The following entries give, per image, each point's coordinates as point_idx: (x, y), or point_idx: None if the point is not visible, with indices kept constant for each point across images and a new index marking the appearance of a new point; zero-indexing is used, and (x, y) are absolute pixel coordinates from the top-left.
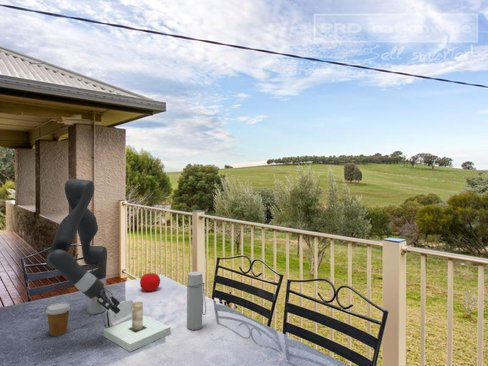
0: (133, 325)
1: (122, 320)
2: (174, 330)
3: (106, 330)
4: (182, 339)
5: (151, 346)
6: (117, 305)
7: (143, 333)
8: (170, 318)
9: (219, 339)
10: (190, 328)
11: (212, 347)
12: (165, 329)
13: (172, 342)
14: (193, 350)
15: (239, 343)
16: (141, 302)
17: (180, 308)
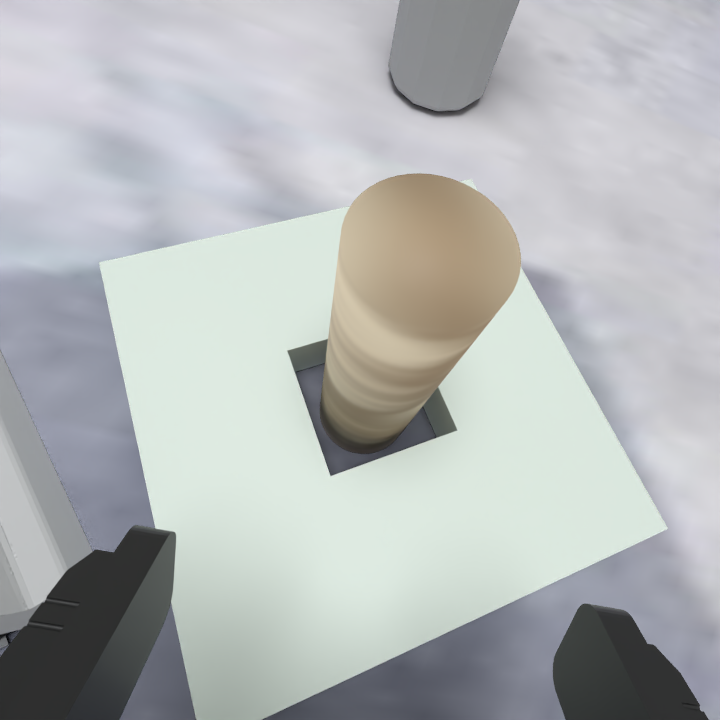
0: (405, 421)
1: (15, 469)
2: None
3: (245, 718)
4: (565, 189)
5: (591, 371)
6: (169, 584)
7: (501, 374)
8: (210, 130)
9: (631, 61)
10: (470, 102)
11: (704, 117)
12: None
13: (582, 246)
14: (712, 194)
15: (696, 24)
16: (420, 186)
17: (81, 24)
